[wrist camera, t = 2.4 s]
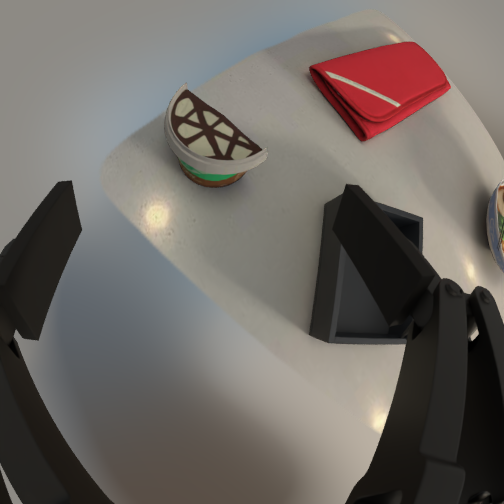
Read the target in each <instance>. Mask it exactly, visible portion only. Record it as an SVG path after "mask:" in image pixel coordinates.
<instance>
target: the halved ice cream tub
mask: <svg viewBox="0 0 504 504" xmlns="http://www.w3.org/2000/svg"><path fill="white" fill-rule="evenodd" d="M164 131H165V135H166V139H167V141H168V144H169V146H170V147H171V149H172V150H173V152H174V153H175V154H176V155H177V156H178V159H179V163H180V166H181V168H182V170H183V172H184V173H185V175H186V176H187V177H188V178H189V179H190V180H192V181H193V182H195V183H196V184H198V185H201V186H204V187H210V188H217V187H224V186H227V185H230V184H232V183H234V182H236V181H237V180H239V179H240V178H241V177H242V176H243V175H244V174H245V173H246V172H247V171H248V170H250V169H252V168H254V167H256V166H258V165H259V164H261V163H262V162H263V161H265V160H266V159H267V154H268V151H267V147H266V148H264V149H263V150H262V149H261V148H260V147H259V146H258V145H257V144H255V143H254V142H253V141H251V140H250V139H249V138H248V137H247V136H246V135H244V134H243V133H242V132H241V131H240V130H239V129H238V128H237V127H236V126H235V125H234V124H232V123H231V122H230V121H229V120H228V119H227V118H226V117H225V116H224V115H222V114H221V113H220V112H218V111H217V110H215V109H214V108H212V107H210V106H209V105H207V104H206V103H205V102H203V101H202V100H201V99H199V98H198V97H197V96H195V95H194V94H193V93H191V92H190V91H189V90H188V89H187V83H185V84H184V85H183V86H181V88H180V89H179V90H178V91H177V92H176V94H175V95H174V96H173V98H172V99H171V101H170V103H169V106H168V108H167V112H166V116H165V122H164Z"/></svg>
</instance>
